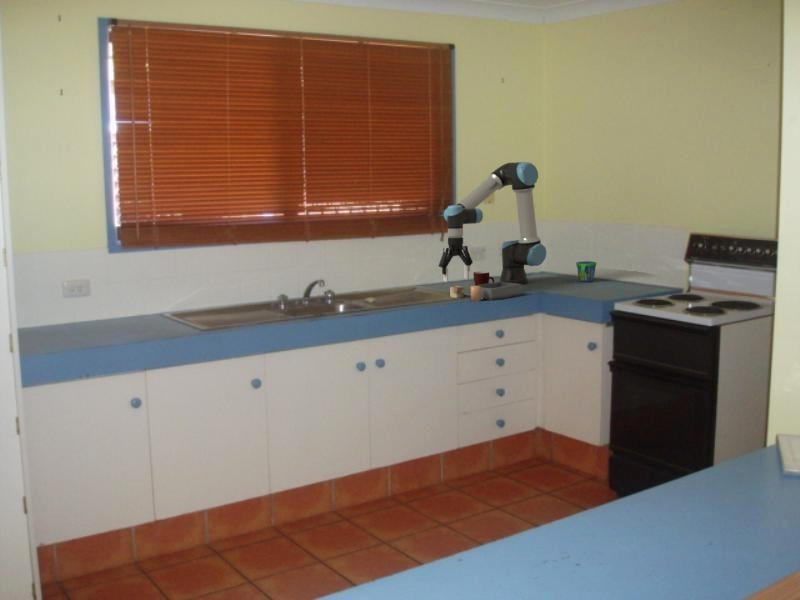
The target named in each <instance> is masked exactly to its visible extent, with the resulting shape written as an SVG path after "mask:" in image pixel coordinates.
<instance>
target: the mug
mask: <svg viewBox="0 0 800 600" xmlns="http://www.w3.org/2000/svg"><path fill="white" fill-rule="evenodd" d="M490 280H491V281H492V282H491V283H494V282H495V278H493V276H490V272H489V271H486V270H485V271H484V270H483V271H474V272H473V282H474V286H475V285H481V284H488V283H490Z"/></svg>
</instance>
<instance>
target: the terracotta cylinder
mask: <svg viewBox="0 0 800 600" xmlns="http://www.w3.org/2000/svg"><path fill="white" fill-rule="evenodd" d="M471 300H473V301H472V302H474V301H475V302H481V301H482V299H481V286H475V285H471V294H470V301H471ZM475 302H474V303H475Z"/></svg>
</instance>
